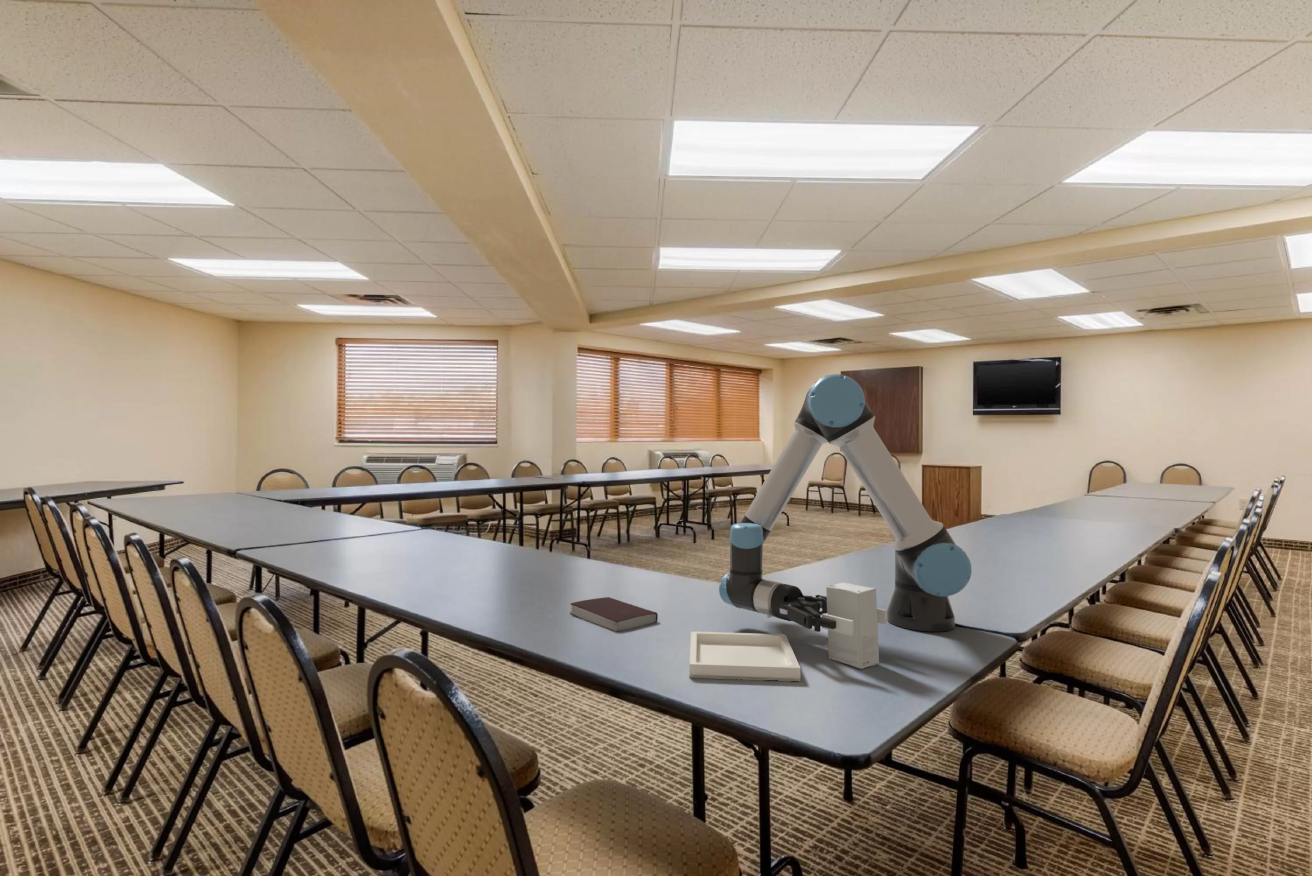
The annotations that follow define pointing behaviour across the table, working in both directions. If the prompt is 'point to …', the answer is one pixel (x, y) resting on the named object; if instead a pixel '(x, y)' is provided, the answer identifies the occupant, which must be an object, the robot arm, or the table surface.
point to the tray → (742, 656)
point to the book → (613, 613)
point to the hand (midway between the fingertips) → (870, 622)
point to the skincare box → (863, 611)
